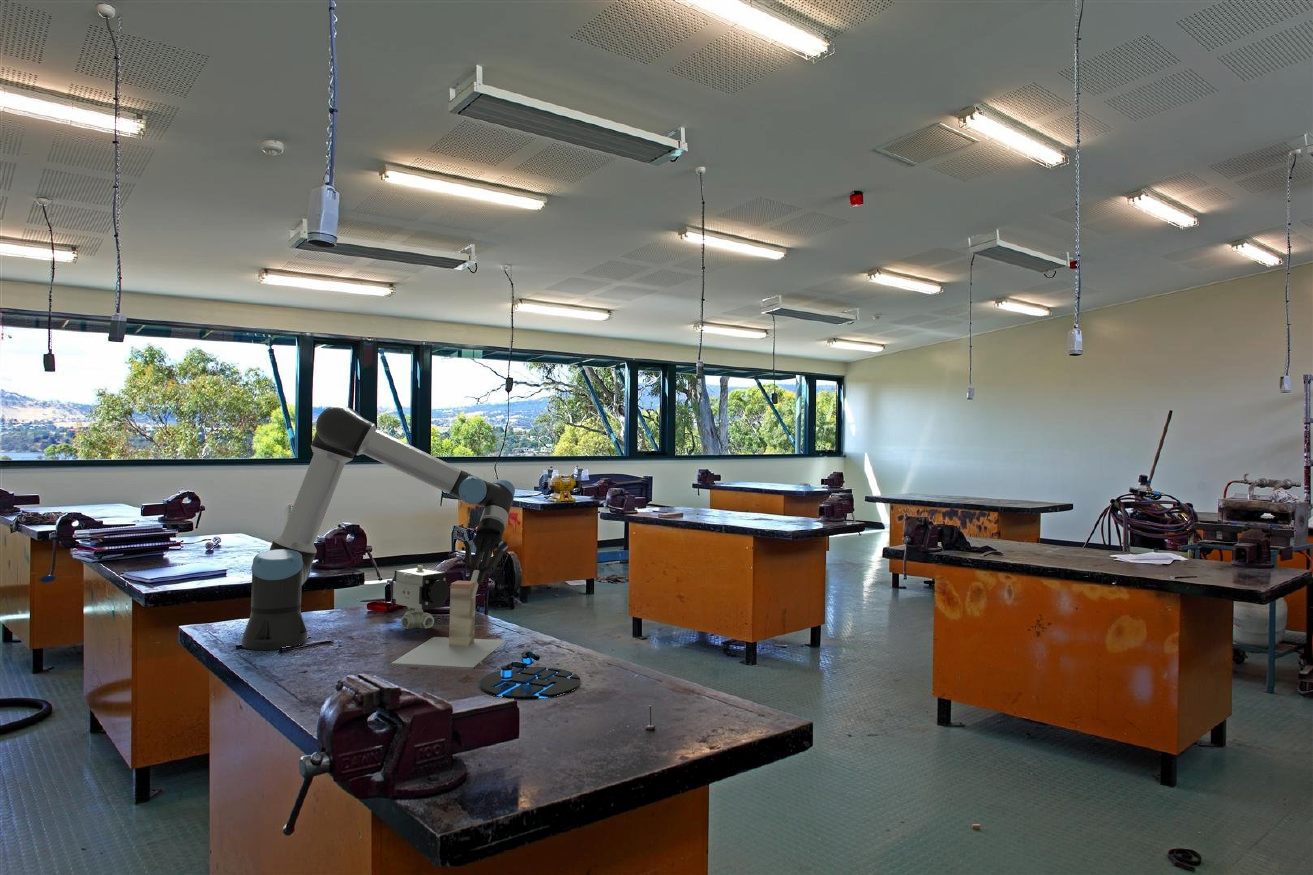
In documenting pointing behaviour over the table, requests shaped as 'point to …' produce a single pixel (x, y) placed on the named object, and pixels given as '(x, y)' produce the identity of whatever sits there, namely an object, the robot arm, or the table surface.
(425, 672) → the table surface
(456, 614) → the birch block
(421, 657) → the rubber mat
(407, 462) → the robot arm
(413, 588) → the ball valve
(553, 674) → the platform
